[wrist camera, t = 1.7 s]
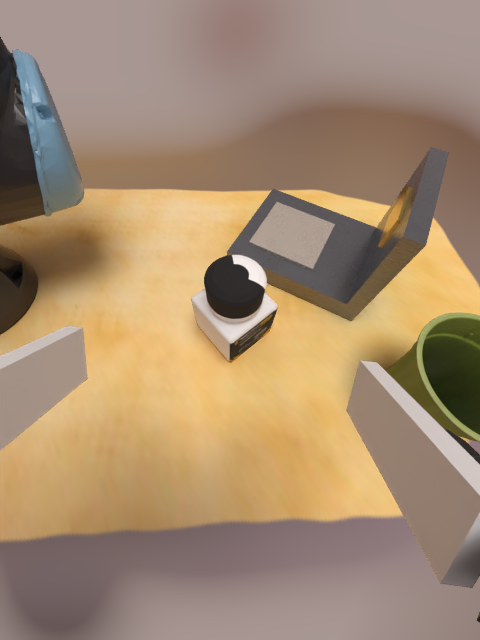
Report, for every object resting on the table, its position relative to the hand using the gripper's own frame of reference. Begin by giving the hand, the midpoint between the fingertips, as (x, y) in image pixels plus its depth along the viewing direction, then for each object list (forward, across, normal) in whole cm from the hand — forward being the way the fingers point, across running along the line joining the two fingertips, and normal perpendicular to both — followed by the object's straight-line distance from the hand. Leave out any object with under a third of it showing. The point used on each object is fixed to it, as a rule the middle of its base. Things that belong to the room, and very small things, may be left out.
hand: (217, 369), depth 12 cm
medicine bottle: (+22, 0, -6) cm, 22 cm away
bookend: (+32, +10, +5) cm, 33 cm away
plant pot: (+17, +22, -10) cm, 30 cm away
